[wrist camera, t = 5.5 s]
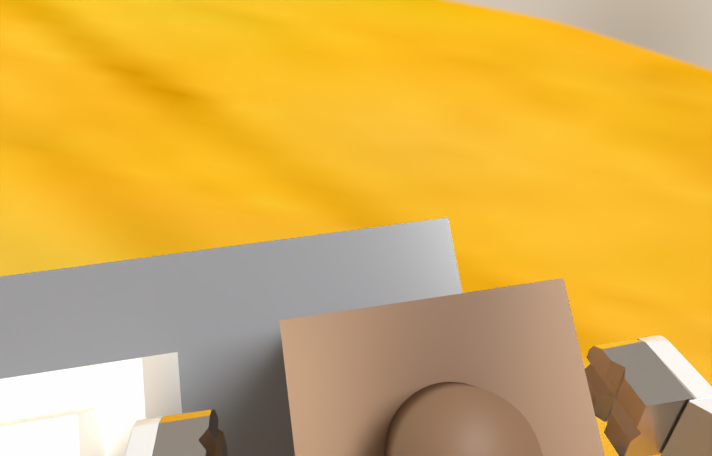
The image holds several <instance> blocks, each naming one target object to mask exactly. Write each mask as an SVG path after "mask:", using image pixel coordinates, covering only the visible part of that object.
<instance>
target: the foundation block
mask: <svg viewBox="0 0 712 456" xmlns="http://www.w3.org/2000/svg"><path fill="white" fill-rule="evenodd" d="M175 414H182V405H181V392H180V379H179V366H178V352H174V353H167V354H161V355H154V356H148V357H141V358H134V359H128V360H121V361H115V362H108V363H102V364H95V365H88V366H82V367H75V368H69V369H62V370H55V371H49V372H42V373H36V374H29V375H23V376H16V377H9V378H3V379H0V456H125V452H126V449H127V445H128V441H129V437H130V433H131V429H132V427H133V426H134V424H135V422H136V421H137V420H142V419H148V418H154V417H161V416H168V415H175Z"/></svg>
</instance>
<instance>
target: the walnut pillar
mask: <svg viewBox="0 0 712 456" xmlns="http://www.w3.org/2000/svg"><path fill="white" fill-rule="evenodd" d="M279 322H280V330H281V339H282V347H283V356H284V365H285V373H286V382H287V390H288V399H289V408H290V416H291V425H292V433H293V442H294V451H295V456H604V452H603V447H602V443H601V439H600V434H599V430H598V426H597V421H596V417H595V413H594V408H593V404H592V400H591V395H590V391H589V387H588V382H587V378H586V374H585V369H584V365H583V361H582V356H581V352H580V348H579V343H578V339H577V335H576V330H575V326H574V322H573V317H572V313H571V309H570V304H569V300H568V296H567V291H566V287H565V283H564V278H562V279H555V280H548V281H542V282H535V283H528V284H521V285H515V286H508V287H501V288H495V289H488V290H481V291H474V292H468V293H461V294H454V295H447V296H441V297H434V298H427V299H421V300H414V301H407V302H400V303H394V304H387V305H380V306H373V307H367V308H360V309H353V310H347V311H340V312H333V313H326V314H320V315H313V316H306V317H299V318H293V319H286V320H279Z"/></svg>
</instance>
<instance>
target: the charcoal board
mask: <svg viewBox="0 0 712 456" xmlns="http://www.w3.org/2000/svg"><path fill="white" fill-rule="evenodd" d="M461 293H462V288H461V283H460V277H459V272H458V267H457V262H456V256H455V251H454V246H453V241H452V235H451V230H450V225H449V219H448V218H441V219H434V220H426V221H419V222H411V223H403V224H396V225H388V226H381V227H373V228H366V229H358V230H351V231H343V232H335V233H328V234H320V235H313V236H305V237H298V238H290V239H282V240H275V241H267V242H260V243H252V244H245V245H237V246H229V247H222V248H214V249H207V250H199V251H192V252H184V253H177V254H169V255H161V256H154V257H146V258H139V259H131V260H124V261H116V262H108V263H101V264H93V265H86V266H78V267H71V268H63V269H56V270H48V271H40V272H33V273H25V274H18V275H10V276H3V277H0V379H3V378H9V377H16V376H23V375H29V374H36V373H42V372H49V371H55V370H62V369H69V368H75V367H82V366H88V365H95V364H102V363H108V362H115V361H121V360H128V359H134V358H141V357H148V356H154V355H161V354H167V353H174V352H178V366H179V379H180V392H181V405H182V413H190V412H197V411H204V410H211V409H215V411H216V413H217V416H218V418H219V421H218V429H219V430H220V431H222V432H223V433H224V436H225V439H226V444H227V451H228V456H295V451H294V442H293V433H292V425H291V416H290V408H289V399H288V390H287V382H286V373H285V365H284V356H283V347H282V339H281V330H280V322H279V320H286V319H293V318H299V317H306V316H313V315H320V314H326V313H333V312H340V311H347V310H353V309H360V308H367V307H373V306H380V305H387V304H394V303H400V302H407V301H414V300H421V299H427V298H434V297H441V296H447V295H454V294H461Z"/></svg>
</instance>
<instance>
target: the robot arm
mask: <svg viewBox="0 0 712 456" xmlns="http://www.w3.org/2000/svg"><path fill="white" fill-rule="evenodd" d="M587 359H588V360H589V362H590V363H591V364H590V365H589V366H588V367H587V368H586V369H585V374H586V378H587V382H588V387H589V391H590V395H591V400H592V404H593V408H594V413H595V416H596V417H598V418H600V419H601V420H603V421H604V422H605V425H604V433H605V434H606V436H607V437H608V439H609V441H610V442H611V444H612V445H613V447H614V448H615V450H616V451H617V453H618V454H619V456H653V455H659V454H661V456H712V387H711V385H710V384H709V383H708V382H707V381H706V380H705V379H704V378H703V377H702V376H701V375H700V374H699V373H698V372H697V371H696V370H695V368H694V367H693V366H692V365H691V364H690V363H689V362H688V361H687V360H686V359H685V358H684V357H683V356H682V355H681V354H680V353H679V351H678V350H677V349H676V348H675V347H674V346H673V345H672V344H671V343H670V342H669V341H668V340H667V339H666V338H664V337H662V336H660V335H657V336H650V337H644V338H639V339H629V340H624V341H618V342H613V343H607V344H601V345H596V346H593V347H592V348H591V349H590V350H589V352H588V355H587ZM218 421H219V418H218V416H217V413H216V411H215V409H211V410H204V411H197V412H190V413H182V414H175V415H168V416H161V417H154V418H148V419H142V420H137V421H136V422H135V424H134V426H133V427H132V429H131V433H130V437H129V441H128V445H127V449H126V452H125V456H228V451H227V444H226V439H225V436H224V433H223V432H222V431H220V430H219V429H218Z"/></svg>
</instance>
